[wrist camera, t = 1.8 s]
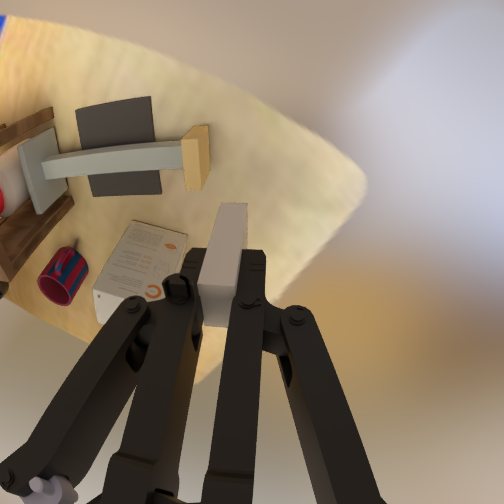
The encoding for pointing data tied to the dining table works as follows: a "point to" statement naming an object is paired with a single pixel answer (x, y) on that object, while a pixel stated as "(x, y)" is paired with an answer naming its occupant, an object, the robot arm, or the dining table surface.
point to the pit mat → (119, 143)
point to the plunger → (109, 162)
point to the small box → (138, 267)
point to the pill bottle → (12, 182)
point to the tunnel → (26, 211)
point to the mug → (63, 276)
